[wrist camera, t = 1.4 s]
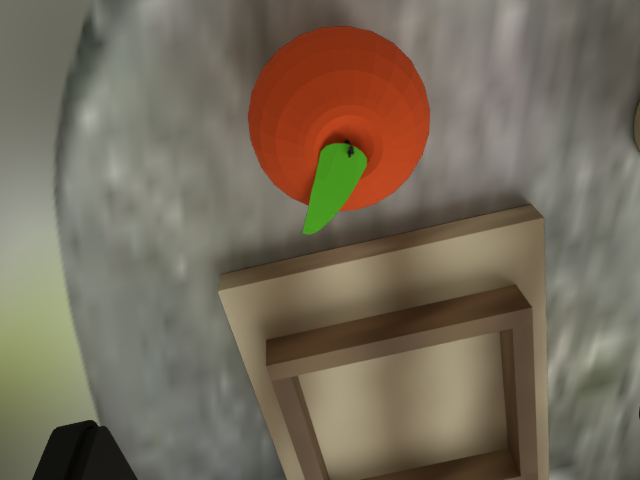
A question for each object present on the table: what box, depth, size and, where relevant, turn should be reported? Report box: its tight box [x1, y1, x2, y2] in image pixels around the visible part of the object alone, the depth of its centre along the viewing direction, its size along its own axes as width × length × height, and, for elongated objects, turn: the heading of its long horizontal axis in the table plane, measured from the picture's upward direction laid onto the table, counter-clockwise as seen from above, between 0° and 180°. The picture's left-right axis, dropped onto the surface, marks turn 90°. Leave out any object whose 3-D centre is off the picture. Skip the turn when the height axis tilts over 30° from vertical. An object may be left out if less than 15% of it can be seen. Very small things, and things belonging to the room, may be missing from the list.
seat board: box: [218, 205, 549, 480], centre depth 31 cm, size 16×20×4 cm
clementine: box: [248, 26, 430, 235], centre depth 22 cm, size 8×7×7 cm
